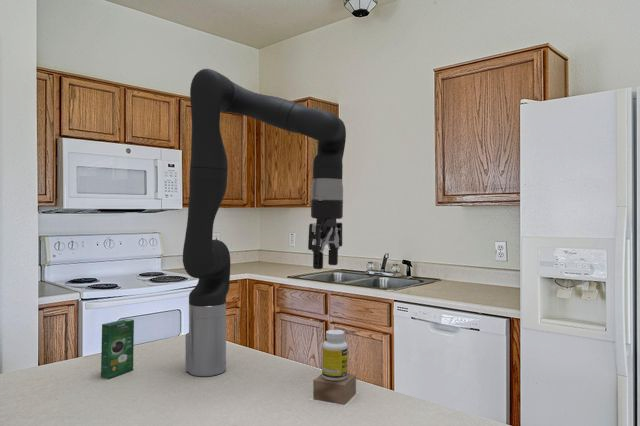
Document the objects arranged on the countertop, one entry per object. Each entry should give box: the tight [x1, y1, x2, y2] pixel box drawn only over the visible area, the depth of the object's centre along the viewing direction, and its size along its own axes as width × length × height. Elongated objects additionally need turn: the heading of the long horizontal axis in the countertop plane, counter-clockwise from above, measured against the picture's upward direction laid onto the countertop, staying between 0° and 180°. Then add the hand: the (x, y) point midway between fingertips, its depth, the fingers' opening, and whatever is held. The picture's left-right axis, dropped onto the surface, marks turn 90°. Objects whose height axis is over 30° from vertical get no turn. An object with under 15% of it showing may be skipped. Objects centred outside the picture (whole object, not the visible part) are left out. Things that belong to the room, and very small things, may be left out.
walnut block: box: [312, 373, 357, 405], centre depth 105 cm, size 7×7×4 cm
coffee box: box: [100, 318, 135, 380], centre depth 122 cm, size 8×3×13 cm, turn 153°
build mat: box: [308, 391, 361, 408], centre depth 108 cm, size 12×12×1 cm
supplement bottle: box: [321, 329, 349, 381], centre depth 105 cm, size 5×5×10 cm
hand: (325, 266), depth 116 cm, fingers open, 8 cm apart
